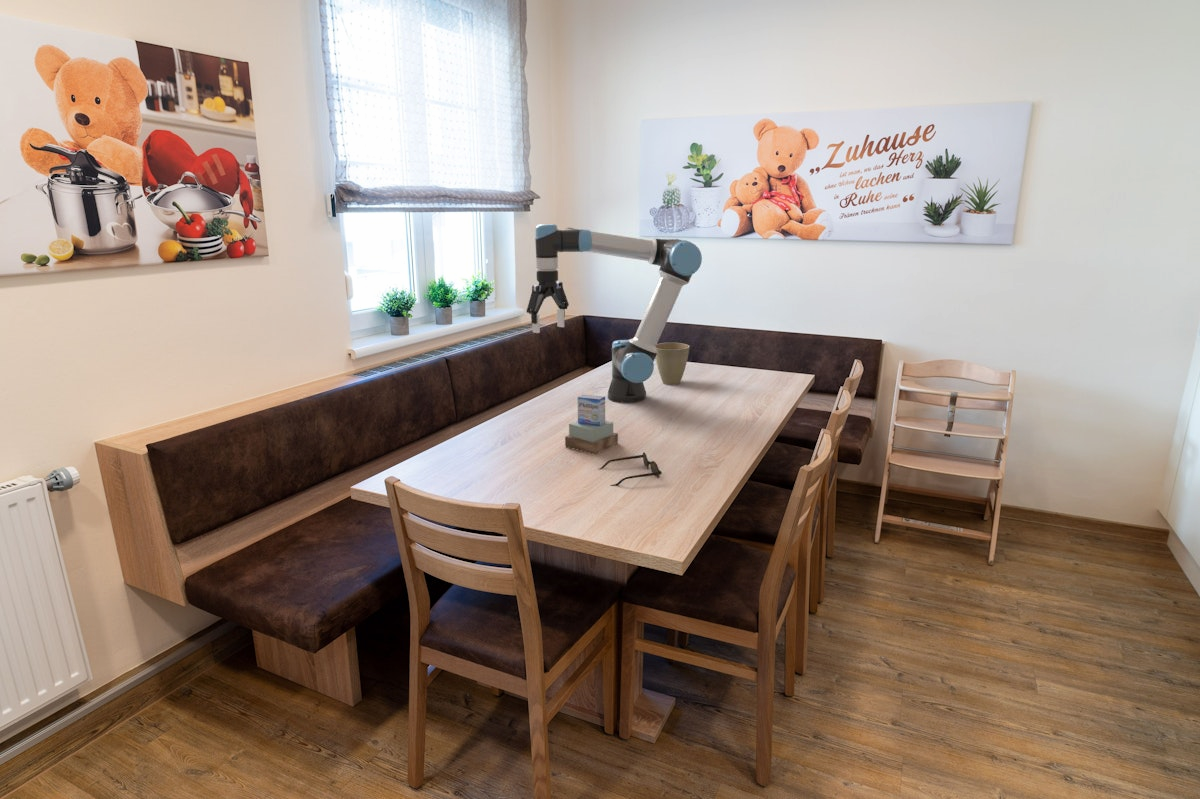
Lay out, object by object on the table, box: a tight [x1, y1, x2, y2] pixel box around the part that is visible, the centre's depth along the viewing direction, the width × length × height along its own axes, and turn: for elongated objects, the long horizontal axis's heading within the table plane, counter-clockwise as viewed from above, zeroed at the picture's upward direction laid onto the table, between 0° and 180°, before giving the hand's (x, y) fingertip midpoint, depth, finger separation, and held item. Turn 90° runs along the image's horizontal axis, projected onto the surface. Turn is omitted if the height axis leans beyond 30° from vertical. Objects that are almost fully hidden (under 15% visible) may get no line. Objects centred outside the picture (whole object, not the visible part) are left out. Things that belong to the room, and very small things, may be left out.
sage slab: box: [568, 419, 614, 442], centre depth 228 cm, size 10×10×4 cm
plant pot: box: [655, 342, 690, 386], centre depth 303 cm, size 15×15×16 cm
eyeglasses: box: [597, 452, 662, 487], centre depth 205 cm, size 15×15×5 cm
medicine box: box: [577, 394, 606, 426], centre depth 227 cm, size 8×4×9 cm, turn 68°
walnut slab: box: [564, 432, 619, 455], centre depth 230 cm, size 12×12×4 cm
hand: (548, 329), depth 257 cm, fingers open, 13 cm apart
